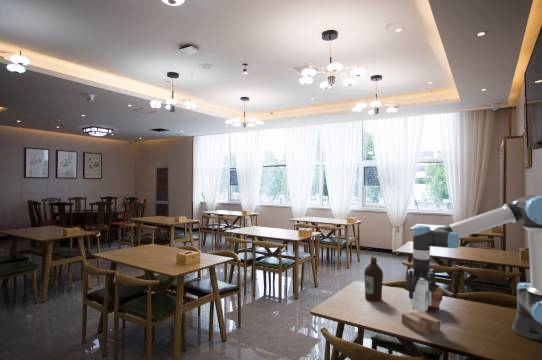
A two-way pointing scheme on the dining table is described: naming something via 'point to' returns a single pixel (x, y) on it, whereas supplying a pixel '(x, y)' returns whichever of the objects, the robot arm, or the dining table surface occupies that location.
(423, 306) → the syrup box
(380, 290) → the olive oil
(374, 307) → the dining table surface
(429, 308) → the decorative planter
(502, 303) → the dining table surface
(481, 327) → the dining table surface
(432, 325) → the walnut block
